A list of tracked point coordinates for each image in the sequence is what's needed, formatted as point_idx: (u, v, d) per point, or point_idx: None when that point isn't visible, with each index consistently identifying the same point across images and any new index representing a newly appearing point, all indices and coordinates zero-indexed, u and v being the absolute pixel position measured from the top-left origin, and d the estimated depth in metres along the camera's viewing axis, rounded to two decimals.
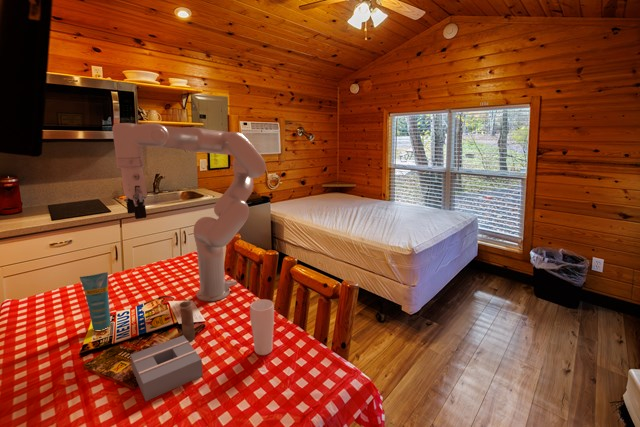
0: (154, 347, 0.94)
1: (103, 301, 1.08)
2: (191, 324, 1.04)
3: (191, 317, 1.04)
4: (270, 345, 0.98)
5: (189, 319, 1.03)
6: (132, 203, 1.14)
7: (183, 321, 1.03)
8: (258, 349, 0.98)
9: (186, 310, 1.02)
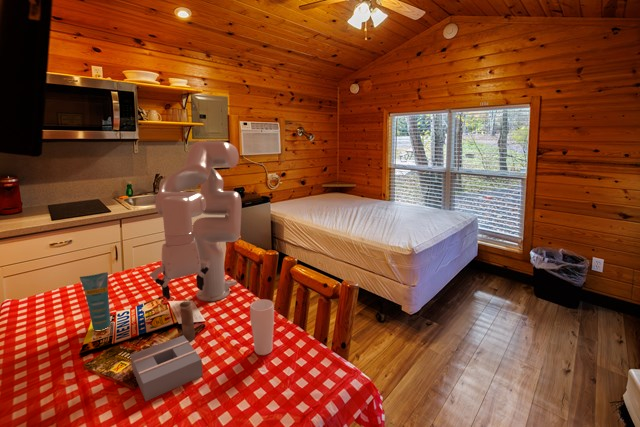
0: (154, 347, 0.94)
1: (103, 301, 1.08)
2: (191, 324, 1.04)
3: (191, 317, 1.04)
4: (270, 345, 0.98)
5: (189, 319, 1.03)
6: None
7: (183, 321, 1.03)
8: (258, 349, 0.98)
9: (186, 310, 1.02)
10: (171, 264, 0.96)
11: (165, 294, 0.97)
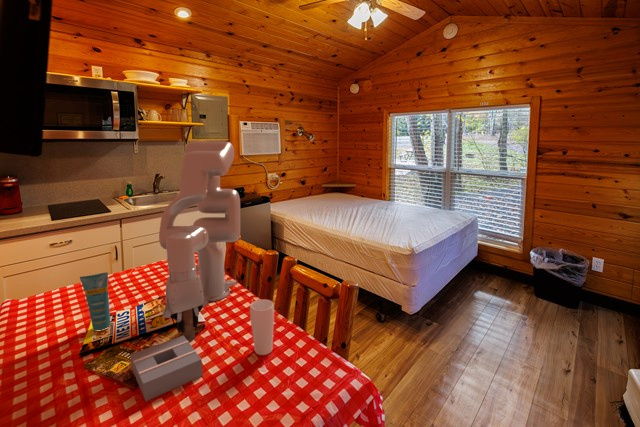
0: (154, 347, 0.94)
1: (103, 301, 1.08)
2: (191, 324, 1.04)
3: (191, 317, 1.04)
4: (270, 345, 0.98)
5: (189, 319, 1.03)
6: None
7: (183, 321, 1.03)
8: (258, 349, 0.98)
9: (186, 310, 1.02)
10: (175, 299, 0.99)
11: (179, 328, 1.03)
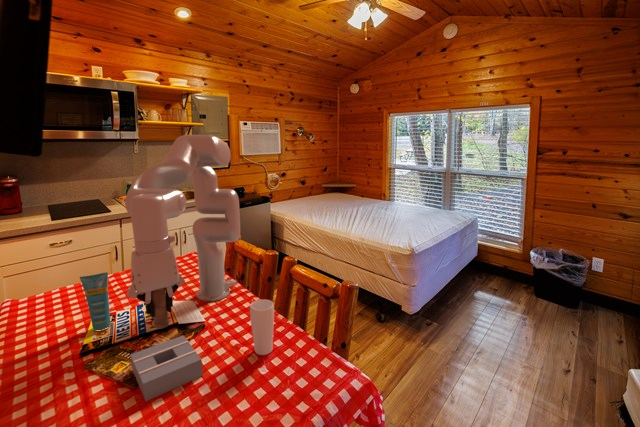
0: (154, 347, 0.94)
1: (103, 301, 1.08)
2: (163, 307, 0.85)
3: (163, 298, 0.85)
4: (270, 345, 0.98)
5: (160, 301, 0.84)
6: None
7: (153, 303, 0.84)
8: (258, 349, 0.98)
9: (157, 290, 0.83)
10: (142, 275, 0.80)
11: (149, 311, 0.84)
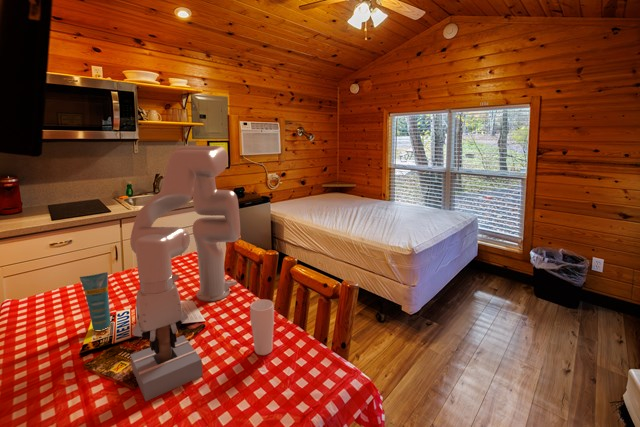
0: None
1: (103, 301, 1.08)
2: (167, 343, 0.88)
3: (167, 335, 0.87)
4: (270, 345, 0.98)
5: (164, 338, 0.87)
6: None
7: (158, 340, 0.87)
8: (258, 349, 0.98)
9: (161, 327, 0.86)
10: (147, 315, 0.82)
11: (153, 348, 0.86)
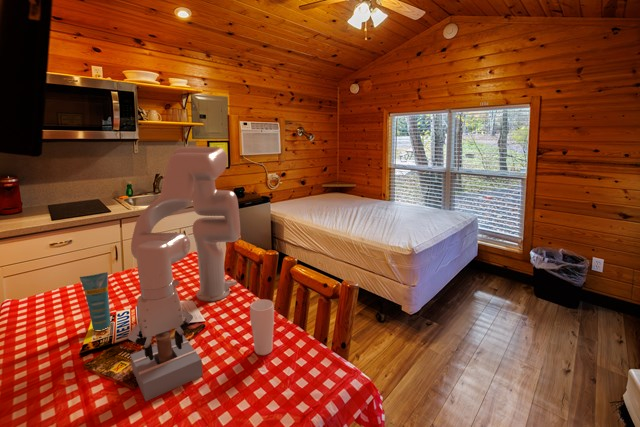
0: (154, 347, 0.94)
1: (103, 301, 1.08)
2: (169, 357, 0.89)
3: (169, 349, 0.88)
4: (270, 345, 0.98)
5: (166, 351, 0.88)
6: None
7: (160, 354, 0.88)
8: (258, 349, 0.98)
9: (163, 341, 0.87)
10: (148, 321, 0.83)
11: (147, 354, 0.86)
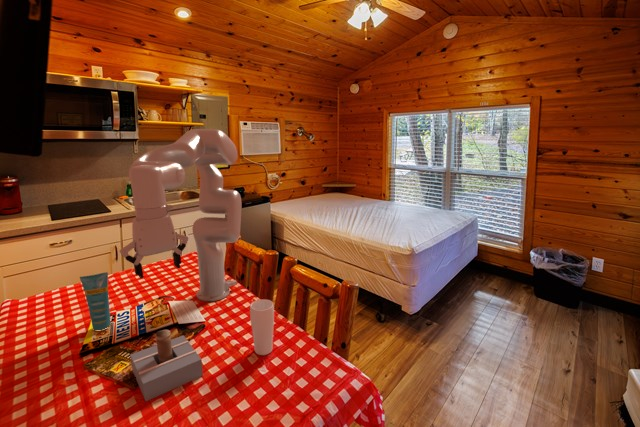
0: (154, 347, 0.94)
1: (103, 301, 1.08)
2: (169, 357, 0.89)
3: (169, 349, 0.88)
4: (270, 345, 0.98)
5: (166, 351, 0.88)
6: None
7: (160, 354, 0.88)
8: (258, 349, 0.98)
9: (163, 341, 0.87)
10: (143, 240, 0.87)
11: (138, 272, 0.90)
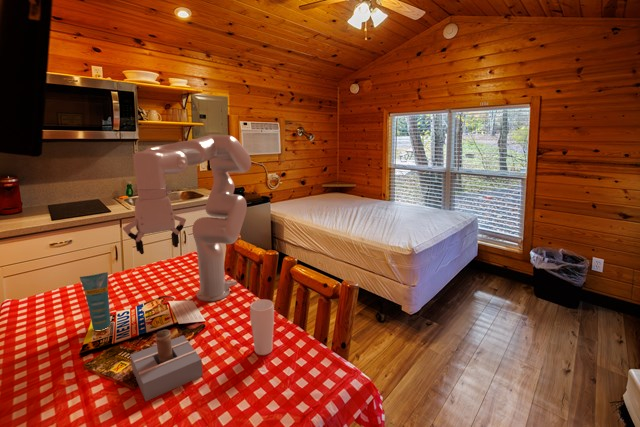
0: (154, 347, 0.94)
1: (103, 301, 1.08)
2: (169, 357, 0.89)
3: (169, 349, 0.88)
4: (270, 345, 0.98)
5: (166, 351, 0.88)
6: None
7: (160, 354, 0.88)
8: (258, 349, 0.98)
9: (163, 341, 0.87)
10: (144, 218, 0.97)
11: (139, 249, 0.98)
